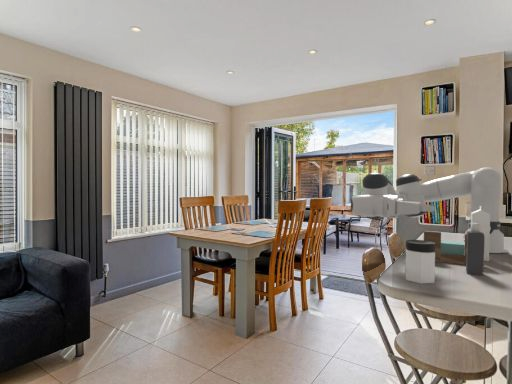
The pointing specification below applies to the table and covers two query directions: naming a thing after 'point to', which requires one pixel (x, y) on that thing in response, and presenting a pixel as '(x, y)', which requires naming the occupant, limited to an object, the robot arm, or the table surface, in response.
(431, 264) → the jar
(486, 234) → the milk
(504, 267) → the table surface
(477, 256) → the grey capped bottle
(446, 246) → the teal block
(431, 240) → the brown notched panel
